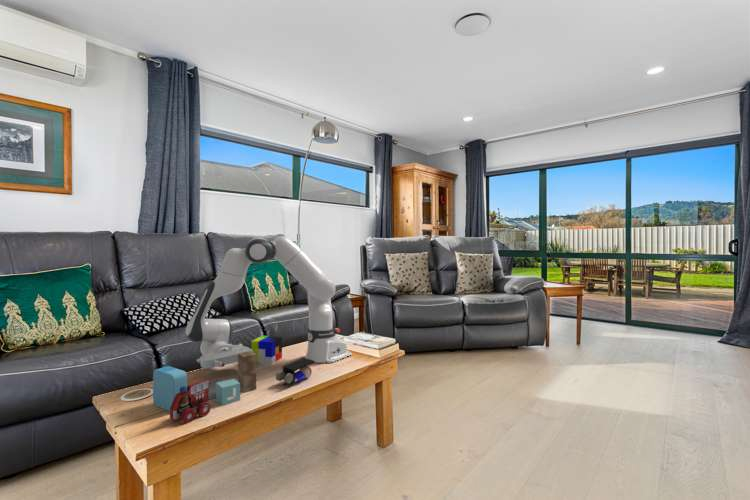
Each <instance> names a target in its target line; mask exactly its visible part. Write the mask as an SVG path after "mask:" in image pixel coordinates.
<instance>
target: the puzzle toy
mask: <svg viewBox="0 0 750 500" xmlns="http://www.w3.org/2000/svg"><path fill="white" fill-rule="evenodd" d="M251 349H252V350H253V353H255V354H256V364H259V363H261V365H273V364H275V363H277V362H278V361H279V360H281V359H282V358H283V337H282V336H274V335H261V336H259V337H257V338H255V339H253V340H251Z"/></svg>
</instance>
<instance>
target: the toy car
mask: <svg viewBox="0 0 750 500" xmlns="http://www.w3.org/2000/svg"><path fill="white" fill-rule="evenodd" d="M312 364H315V362H314V361H313V360H310V359H306V358H305V357H302V358H300V359H298V360H295V361H291V362H290V363H288V364H286V365H283V366H282V370H279V371H278V372H276V374H275V380H276V381H279V382H282V381H284V382H283V383H282V385H281V386H286V385H287V384H289V385H288V386H287V388H290V387H292V386H293V385H294V384H295V383H296V382H300V381H301V380H303V379H308V378H310V377H311V375H312V373H313V371H312V368H311V367H310V365H312Z"/></svg>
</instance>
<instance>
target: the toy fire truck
mask: <svg viewBox="0 0 750 500" xmlns="http://www.w3.org/2000/svg"><path fill="white" fill-rule="evenodd" d="M210 382H211V380H210V379H209V378H204V379H201V380H197V381H195V382H193V383H190V384H187V387H186V386H182V387H181V388H180V393H178V394H176V396H175V398H174V400H173V402H172V405H171V407H170V411H169V418H170V419H171V420H172V421H177V420H179V419H180V420H181V422H183V423H185V424H189V423H191V422H192V421H193V420H194V419H195V417H196V414H197V415H198V416H200V417H205V416H207V415H208V414H209V413H210V412H211V408H212V406H211V404H210V403H209V401H210V400H209V387H210ZM186 396H187V397H186Z"/></svg>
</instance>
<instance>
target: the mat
mask: <svg viewBox="0 0 750 500" xmlns="http://www.w3.org/2000/svg"><path fill="white" fill-rule="evenodd" d="M221 381H224V380H223V379H216V380H213V381H211V380H210V387H209V401H212V400H216V383H217V382H221Z"/></svg>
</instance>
